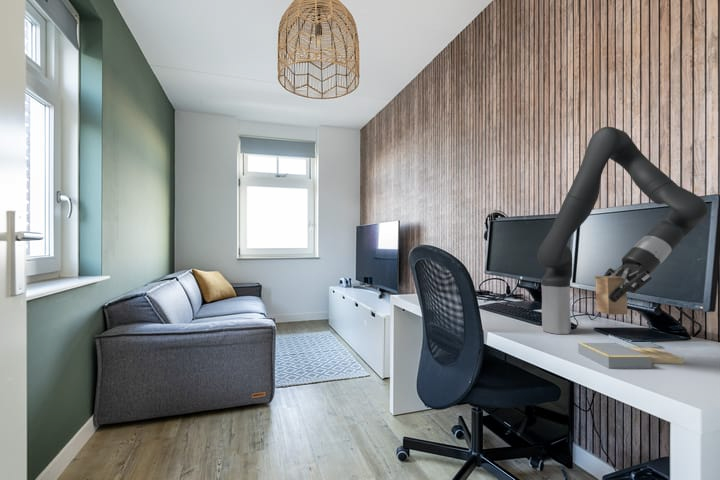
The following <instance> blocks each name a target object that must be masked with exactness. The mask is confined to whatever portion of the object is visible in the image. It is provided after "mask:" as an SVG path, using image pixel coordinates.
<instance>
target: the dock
mask: <svg viewBox="0 0 720 480" xmlns="http://www.w3.org/2000/svg"><path fill="white" fill-rule="evenodd" d="M627 347H628V346H625V345H622V344H619V343H617V342H577V352H578V354H580V355H582V356H583V357H586V358H588V359H589V360H591V361H594V362H595V363H597V364H600V365H601V366H603V367H605V368H607V369H652V364H651V356H648V355H645V354H643V353H640V352H637V351H635V350H632V349H630V348H627Z"/></svg>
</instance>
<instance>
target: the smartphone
mask: <svg viewBox="0 0 720 480" xmlns="http://www.w3.org/2000/svg"><path fill="white" fill-rule="evenodd" d="M611 334H612V333H609V334H608V337H609V338H611V339H614V340H617V341H619V342H622V343H625V344H628V345H631V346H632V347H654V348H657V349H659V350H662V349H664V348H665V347H664V346H662V345H659V344H657V343H654V342H651V341H649V342H631V341H627V340H623V339H620V338H618V337H615V336H613V335H611Z"/></svg>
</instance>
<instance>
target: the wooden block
mask: <svg viewBox="0 0 720 480" xmlns="http://www.w3.org/2000/svg"><path fill="white" fill-rule="evenodd" d="M594 279H595V293H596V296H595V300H596V301H595V302H596V304H595V305H596V312H598V313H601V314H605V315H628V298H627V294H628V293H625V294H624V295H623V296H622V297H621V298H620V299H619V300H618V301H617V302H612V301H611V300H610V299H609V298H608V296H609V295H610V294H611V293H612V292H613V291H614V290H615V289H616V288H619V287H618V286H619V284H620V283H621V282H622V279H623V278H622V277H617V276H604V275H596V276H594Z"/></svg>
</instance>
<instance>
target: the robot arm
mask: <svg viewBox="0 0 720 480" xmlns="http://www.w3.org/2000/svg"><path fill="white" fill-rule="evenodd" d="M609 160H611V161H613V162H615V163H616V164H618V165H619V166H620V167H621V168H623V169H624V170H625V172H626V173H628V175H629V176H630V178H631V180H632V181H633V183H634V184H635V185H636V187H637V188H638V189H639V190H640V191H641V192H642V193H643V194H644V195H645V196H646V197H647V198H649V200H650V201H651V202H653V203H654V204H657V205H664V204H665V205H666V206H668V207H669V208H670V209H671V210H670V211H669V212H668V214H667V215H666V216H665V217H664V219H663V220H661V222H660V223H658V224H656V225H655V226H653V228H652V229H650V231H649V232H648V233H647V234H645V236H643V237H642V238H641V239H640V240H639V241H637V242H636V243H635V245H633V247H631V248H630V249H629V251H627V253H626V254H625V255H623V256H622V258H621V263H622V264H621V265H620V266H619V267H618V268H616V269H613V268H611V267H610V268H608V269H607V270H606V272H605V273H604V275H603V276H617V277H622V278H623V279H622V282H621V283H620V284H619V286H618V287H619V288H616V289H615V290H614V291H613V292H612V293H611V294H610V295H609V296H608V298H609V299H610V300H611V301H612V302H617V301H618V300H619V299H620V298H621V297H622V296H623V295H624V294H625V293H627V294H628V293H633V294H634V293H636V291H638V290H639V289H640V288H642V287H643V286H645V285H646V284H648V282H650V281H651V280H652V279H653V278H652V277H651V276H650V275H651V274H652V273H653V272H654V271H656V269H657V268H658V267H659V266H660V265H661V264H662V263H663V262H664V261H665V260H666V259H667V257H668V256H669V255H670V253H672V251H673V250H674V249H675V248H676V247H677V246H678V245H679V244H680V243H681V242H682V240H683V239H684V237H686V236H687V235H688V234H689V233H691V231H692V230H694V229H695V228H696V227H697V226H698V225H699V224H700V222H701V221H702V220H703V219H704V218H705V217H706V215H707V214H708V213H709V207H708V205H707V202H706V201H705V200H704V199H703V198H702V197H700V196H699V195H697V194H695V193H694V192H691V191H689V190H688V189H686V188H684V187H682V186H679V185H678V184H677V183H676V182H675V181H673V179H671V177H669V175H667V174H666V173H665V172H663V171H662V170H661V169H660V168H659V167H657V165H655V164H654V163H653V162H652V161H650V160H649V159H648V158H647V157H646V155H644V154H643V152H642V151H641V150H640V149H639V148H638V146H637V145H636V144H635V142H634V141H633V140H632V138H631V136H629V134H628V133H627V132H625V131H623V130H622V129H618V128H616V127H613V126H604V127H601V128H599V129H597V131H595V133H593V134H592V136H591V138H590V140H589V141H588V144H587V147H586V150H585V152H584V156H583V159H582V161H581V164H580V167H579V169H578V171H577V173H576V175H575V178H574V179H573V181H572V184H571V186H570V189H569V190H568V192H567V194H566V195H565V198H564V200H563V202H562V204H561V208H560V209H559V211H558V214H557V215H556V217H555V219H554V222H553V224H552V227H551V228H550V230H549V232H548V234H547V235H546V236H545V238H544V240H543V241H542V243H541V244H540V246H539V248H538V251H537V254H536V255H537V256H536V257H537V258H536V259H537V262H538V263H539V265H540V266H542V267H544V268H546V272H545V273H544V275H543V276H542V278H541V328H542V331H543V332H545V333H549V334H553V335H554V334H555V335H568V334H571V332H572V331H571V330H572V328H571V327H572V322H571V321H572V320H571V314H572V313H571V285H570V284H571V280H572V276H573V254H572V250H571V248H570V247H569V246H568V243H569V241H570V238H572V236H573V235H574V233H575V232H577V229H578V228H580V227H581V226H582V225H583V224H584V223H585V221H586V220H588V218H589V217H590V215H591V214H592V211H593V209H594V207H595V206H596V203H597V201H598V199H599V196H600V189H601V179H602V175H603V171H604V169H605V167H606V165H607V163H608V161H609ZM594 296H595V297H596V292H595V293H594Z"/></svg>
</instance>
